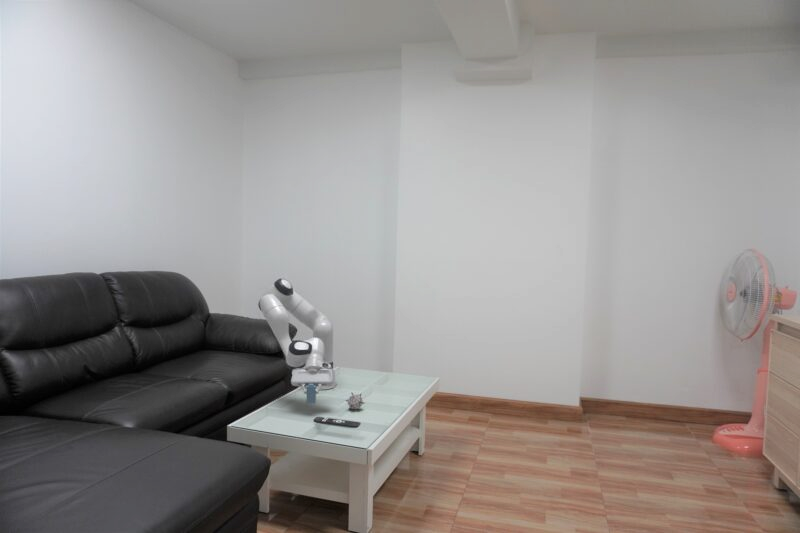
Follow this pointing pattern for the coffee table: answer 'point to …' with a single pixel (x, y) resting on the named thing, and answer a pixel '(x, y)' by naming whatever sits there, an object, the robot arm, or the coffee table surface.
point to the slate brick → (311, 394)
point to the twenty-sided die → (355, 401)
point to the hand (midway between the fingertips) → (311, 393)
